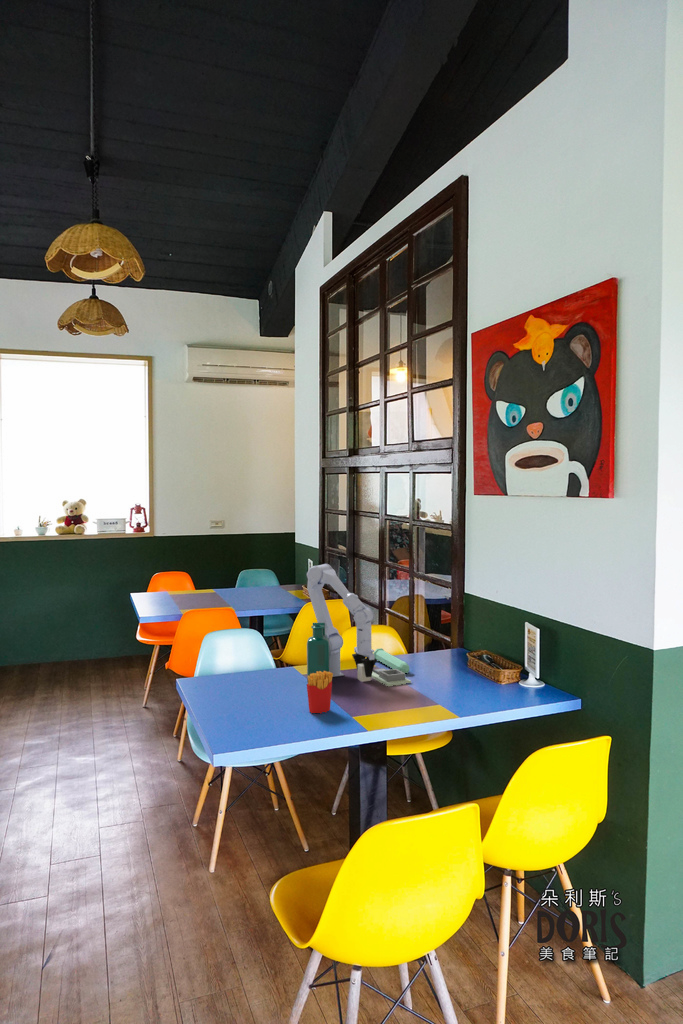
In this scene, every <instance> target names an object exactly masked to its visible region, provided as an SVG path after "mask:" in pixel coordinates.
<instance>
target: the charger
mask: <svg viewBox="0 0 683 1024" xmlns="http://www.w3.org/2000/svg"><path fill="white" fill-rule="evenodd" d="M357 670H358V671H357ZM356 671H357V680H359V681H360V682H362V683H363V682H370V681H372V677H366V676H365V668H364V664H363V663H361V664H357V667H356Z"/></svg>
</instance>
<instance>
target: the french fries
mask: <svg viewBox="0 0 683 1024" xmlns="http://www.w3.org/2000/svg"><path fill="white" fill-rule="evenodd" d="M333 678H334V677H333V673H330V672H327V671H324V672H321V671H319V672H318V671H316V673H312V674H310V676H308V683H307V684H306V691H307V700H308V709H309V710H308V711H309V713H310V712H311V713H310V714H312V713H320V714H323V713H322V712H325V713H328V712H327V711H329V710H330V711H331V702H332V690H333ZM330 711H329V712H330Z"/></svg>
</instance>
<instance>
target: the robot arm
mask: <svg viewBox="0 0 683 1024" xmlns="http://www.w3.org/2000/svg"><path fill="white" fill-rule="evenodd" d="M306 578H307V584H306V587H307V593H308V596H309V599H310V602H311V605H312V608H313V612H314V614H315V618H316V620H317V622H316V623H325V637H328V638H329V641H330V673H333V677H332V678H336V677H342V676H345V674H344V673H342V672H341V649H342V647H343V645H344V639H343V637H342V635H340V633H339V630H338V629H337V628H336V627H334V624H333V621H332V618H331V615H330V612H329V609H328V605H327V602H326V599H325V596H324V593H323V590H322V589H323V587H324V586H325V585H330V586H331V588H333V590H334V591H335V592H337V595H339V596H340V597H341V598H342V603H343V605H344V606H345V607H346V608H347V610H348V611H349V612H350V613H351V615H352V616H353V617H352V618H353V621H354V623H355V624H356V626H355V627H356V646H355V647H354V649H353V650H354V653H352V655H351V656H352V659H353V660H354V663H355V668H357V664H361V663H363V664H364V668H365V676H366V677H371V676H372V672H373V669H375V668H374V667H375V665H376V663H377V662H378V661H377V659H375V655H374V654H373V653H374V652H375V650H374V649H372V647H373V646H372V622H373V620H374V616H375V615H374V614H375V613H374V611H373V609H372V608H370V606H369V607H368V606H367V605H365V604H364V603H363V602H362V601H361V600H360V598H359V596H358V594H355V593H353V592H350V591H349V590H348V589H347V588H346V586H345V585H344V583H343V582H342V581H341V579H340V578H339V576H338V575H337V573H336V570H335V569H333V567H332V566H331V565H330V564H328V563H323V564H319V565H313V566H310V568H309V569H308V571H307V572H306ZM356 671H357V672H358V670H357V669H356ZM371 678H372V677H371Z"/></svg>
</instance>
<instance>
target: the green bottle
mask: <svg viewBox="0 0 683 1024" xmlns="http://www.w3.org/2000/svg"><path fill="white" fill-rule="evenodd" d="M311 629H312V636H310V637H308V639H307V642H306V675H307V677H306V678H307V679H306V680H307V684H308V676H310V674H312V673H316V671H318V672H319V671H321V672H324V671H327V672H330V641H329V638H328V637H325V623H318V622H312V625H311Z"/></svg>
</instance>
